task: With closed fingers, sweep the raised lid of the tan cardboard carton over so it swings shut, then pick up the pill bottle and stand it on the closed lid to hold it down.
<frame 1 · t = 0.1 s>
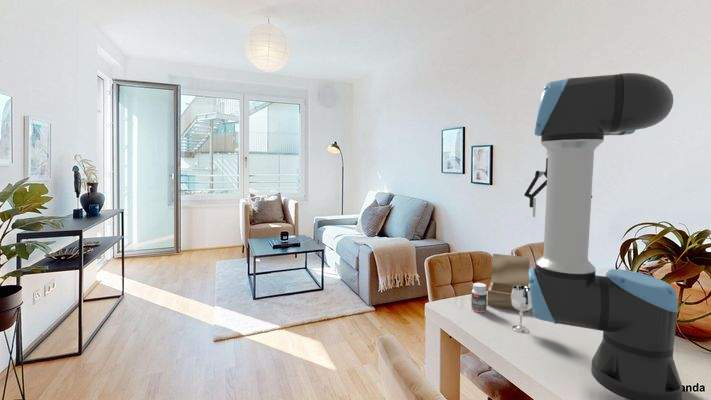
hand: (555, 218, 122), 28 cm above the table, fingers open, 13 cm apart
wineglass: (520, 330, 100), on the table
crate: (507, 303, 118), on the table
pill bottle: (478, 310, 113), on the table
lid: (510, 269, 123), point 10 cm above the table, hinge at 106.0°
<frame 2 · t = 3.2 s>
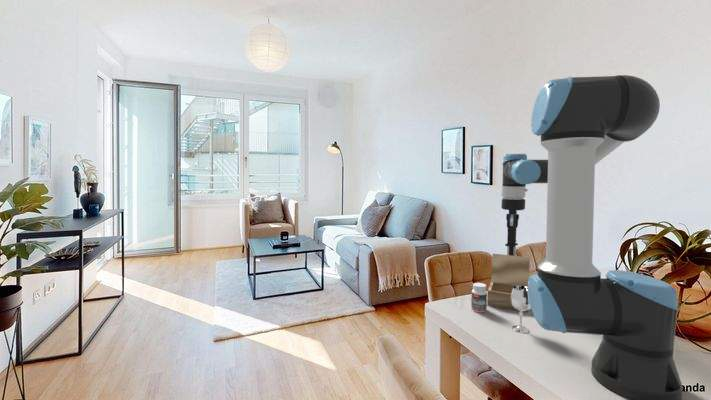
hand: (510, 263, 125), 11 cm above the table, fingers closed
lid: (510, 269, 123), point 10 cm above the table, hinge at 103.0°, touching gripper
everything else where it was.
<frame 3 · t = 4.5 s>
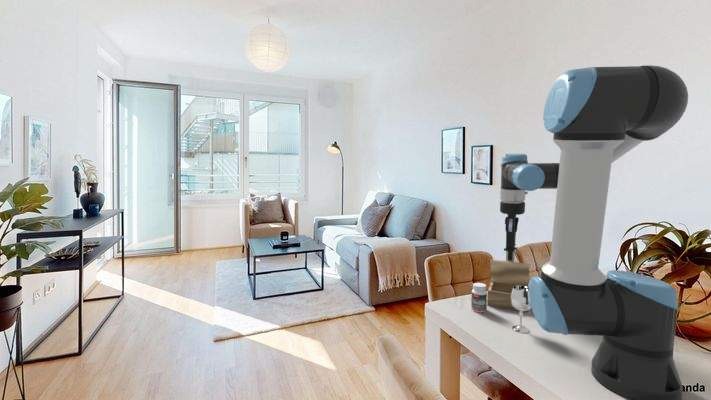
hand: (509, 268, 120), 11 cm above the table, fingers closed
lid: (509, 273, 120), point 10 cm above the table, hinge at 61.5°, touching gripper
everything else where it was.
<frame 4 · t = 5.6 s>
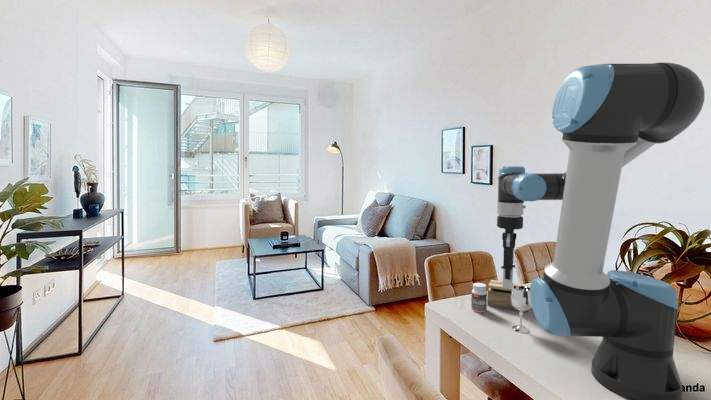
hand: (507, 287, 113), 7 cm above the table, fingers closed
lid: (508, 286, 118), point 6 cm above the table, hinge at 6.2°, touching gripper
everything else where it was.
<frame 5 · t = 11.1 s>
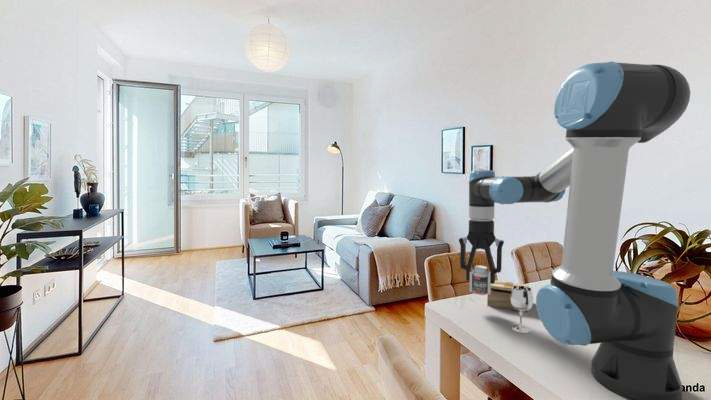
hand: (480, 291, 112), 6 cm above the table, fingers closed on pill bottle, 5 cm apart
pill bottle: (480, 293, 112), point 6 cm above the table, touching gripper
lid: (508, 286, 118), point 6 cm above the table, hinge at 6.0°
everything else where it was.
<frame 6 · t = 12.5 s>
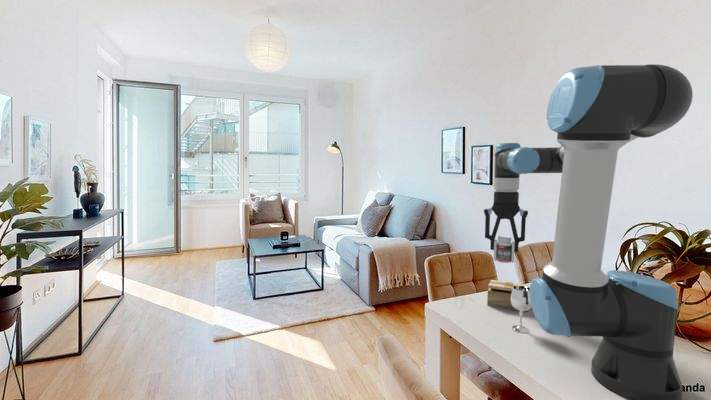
hand: (503, 260, 117), 15 cm above the table, fingers closed on pill bottle, 5 cm apart
pill bottle: (503, 261, 117), point 14 cm above the table, touching gripper
everything else where it was.
when the fingers open (6 cm above the table, at t = 14.4 s): pill bottle stays where it is, resting on lid.
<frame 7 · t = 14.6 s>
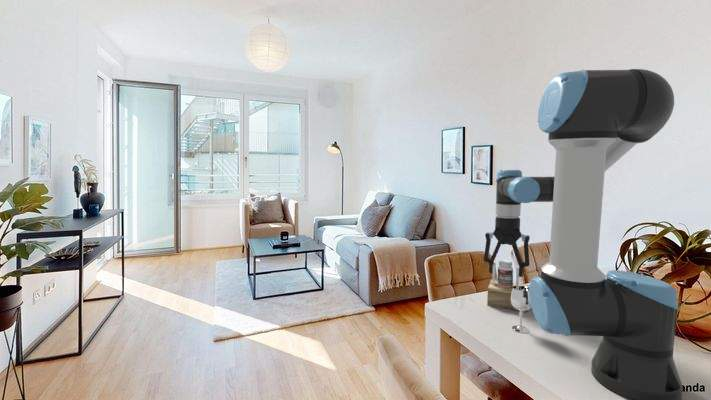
hand: (505, 284, 118), 6 cm above the table, fingers open, 7 cm apart
pill bottle: (505, 286, 118), point 6 cm above the table, touching lid
lid: (508, 287, 118), point 6 cm above the table, hinge at 1.2°, touching crate, pill bottle
everything else where it was.
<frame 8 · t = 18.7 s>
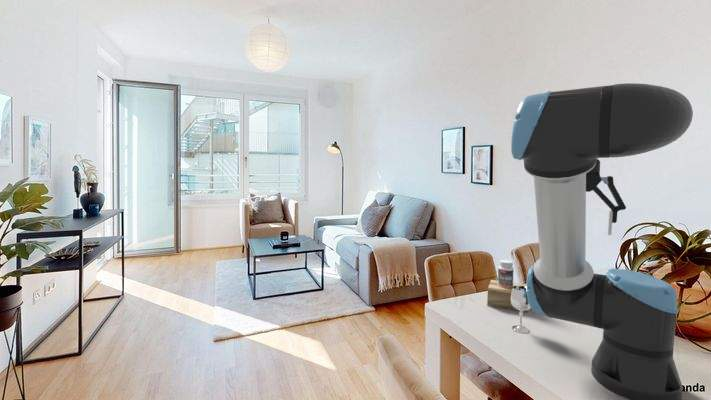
hand: (580, 232, 103), 27 cm above the table, fingers open, 13 cm apart
nothing on the table moved.
at the end: lid at +1° (first picture: +106°); pill bottle 1.0 cm from the crate (horizontally); pill bottle point 5.7 cm above the table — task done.
